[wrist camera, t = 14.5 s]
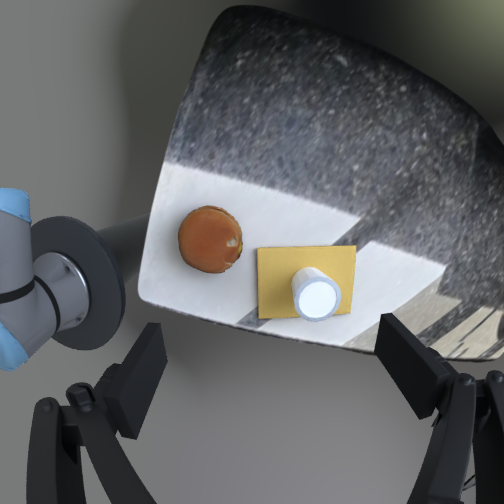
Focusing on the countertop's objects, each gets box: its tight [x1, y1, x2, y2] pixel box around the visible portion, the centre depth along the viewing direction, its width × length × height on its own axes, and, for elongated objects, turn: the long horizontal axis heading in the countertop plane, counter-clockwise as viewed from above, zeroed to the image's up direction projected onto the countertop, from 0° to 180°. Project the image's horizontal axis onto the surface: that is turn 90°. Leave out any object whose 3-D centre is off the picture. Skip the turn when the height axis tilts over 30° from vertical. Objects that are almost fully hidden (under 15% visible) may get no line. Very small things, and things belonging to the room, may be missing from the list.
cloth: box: [257, 245, 356, 319], centre depth 45 cm, size 16×12×1 cm
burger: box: [178, 206, 243, 273], centre depth 41 cm, size 10×9×5 cm
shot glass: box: [291, 267, 341, 322], centre depth 41 cm, size 7×7×7 cm
